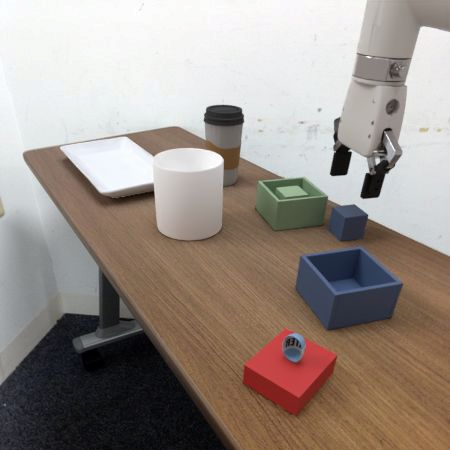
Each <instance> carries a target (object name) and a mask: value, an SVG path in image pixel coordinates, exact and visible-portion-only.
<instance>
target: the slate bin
mask: <svg viewBox="0 0 450 450" xmlns="http://www.w3.org/2000/svg"><path fill="white" fill-rule="evenodd" d="M403 286H404V283H403V282H402V281H401V280H400V279H399V278H398V277H397V276H396V275H395V274H394V273H392V272H391V271H390V269H388V268H387V267H386V266H385V265H383V264H382V263H381V262H380V261H379V260H378V259H377V258H376V257H374V256H373V255H372V254H371V252H369V251H368V250H367V249H365V247H363V246H355V247H354V246H353V247H347V248H341V249H340V248H339V249H334V250H333V249H332V250H328V251H327V250H326V251H321V252H319V251H318V252H311V253H307V254H300V256H299V261H298V267H297V275H296V282H295V290H296V291H297V293H298V294H299V295H300V297H301V298H302V299H303V300H304V302H305V303H306V305H307V306H308V307H309V309H310V310H311V311H312V312H313V313H314V315H315V316H316V318H317V319H318V321H320V322H321V324H322V325H323V327H324V328H325V329H326V331H330V330H335V329H341V328H346V327H351V326H356V325H361V324H367V323H372V322H377V321H382V320H386V319H392V317H393V315H394V313H395V310H396V306H397V304H398V301H399V297H400V294H401V292H402V290H403V289H402V288H403Z"/></svg>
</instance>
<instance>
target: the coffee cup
mask: <svg viewBox="0 0 450 450" xmlns="http://www.w3.org/2000/svg"><path fill="white" fill-rule="evenodd" d="M203 122H204V134H205V140H204V143H205V150H209V151H212V152H215V153H217V154H219V155H220V156H221V157H222V158H223V160H224V170H223V187H229V186H233V185H234V184H236V181H237V180H238V174H239V173H238V171H239V166H240V160H241V159H240V157H241V151H242V138H243V127H244V123H245V114H244V113H243V108H242V107H240V106H237V105H232V104H213V105H209V106H206V107H205V112H204V113H203Z"/></svg>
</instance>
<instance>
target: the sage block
mask: <svg viewBox="0 0 450 450" xmlns="http://www.w3.org/2000/svg"><path fill="white" fill-rule="evenodd" d="M275 196H276V197H277V198H278V199H279V200H285V199H294V198H304V197H308V194H307V193H306V192H305V191H304V190H302V189H301V188H300V187H299V186H288V187H278V188H276V193H275Z"/></svg>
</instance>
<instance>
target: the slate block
mask: <svg viewBox="0 0 450 450" xmlns="http://www.w3.org/2000/svg"><path fill="white" fill-rule="evenodd" d="M368 219H369V213H367V212H366V211H364V210H363V209H362V208H360V207H359V206H357V205H356V204H355V203H353V204H344V205H336V206H331V211H330V216H329V222H328V226H327V227H328V228H327V230H328V232H330V233H331V235H333V236H334V237H335V238H336V239H337V240H338V241H339V242H345V241H352V240H358V239H359V240H361V239H363V238H364V235H365V232H366V231H365V230H366V227H367V223H368Z"/></svg>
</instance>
